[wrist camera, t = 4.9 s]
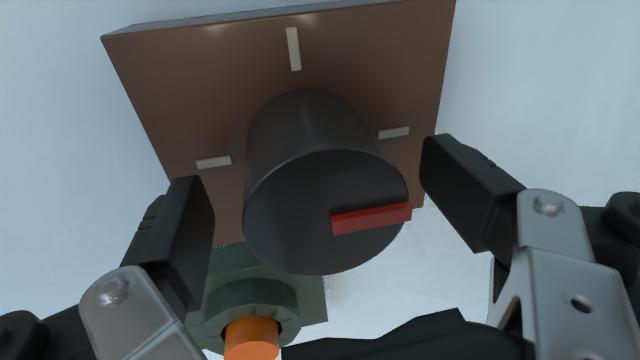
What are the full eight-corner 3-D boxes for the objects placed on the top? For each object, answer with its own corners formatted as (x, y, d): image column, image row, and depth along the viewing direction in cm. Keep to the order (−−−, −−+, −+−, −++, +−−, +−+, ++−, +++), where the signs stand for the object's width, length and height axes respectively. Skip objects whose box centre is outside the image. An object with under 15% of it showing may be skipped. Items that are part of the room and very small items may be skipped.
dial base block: (210, 212, 17) (201, 252, 15) (131, 24, 11) (95, 37, 9) (401, 177, 18) (424, 209, 16) (419, -10, 12) (460, -7, 10)
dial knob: (260, 201, 14) (261, 298, 9) (232, 98, 11) (217, 172, 7) (362, 183, 14) (406, 267, 10) (362, 79, 11) (424, 138, 7)
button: (233, 344, 19) (231, 374, 18) (219, 319, 17) (216, 350, 16) (281, 334, 19) (283, 361, 18) (272, 308, 18) (273, 337, 16)
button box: (201, 322, 23) (193, 377, 20) (161, 258, 18) (141, 317, 15) (323, 296, 24) (333, 345, 21) (313, 229, 19) (324, 278, 16)
